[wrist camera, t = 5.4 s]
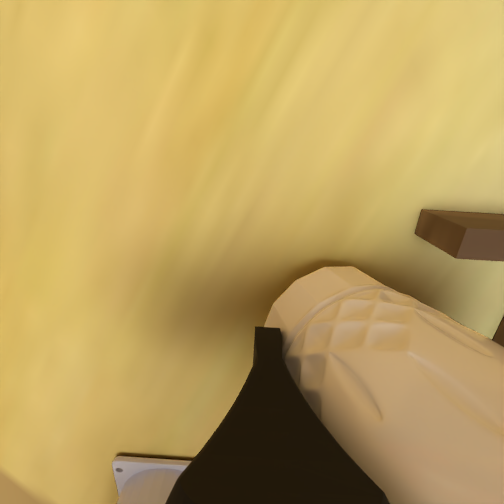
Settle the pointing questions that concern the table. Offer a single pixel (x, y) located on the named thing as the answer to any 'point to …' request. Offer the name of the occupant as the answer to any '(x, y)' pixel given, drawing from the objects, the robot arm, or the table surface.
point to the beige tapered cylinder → (397, 386)
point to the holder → (465, 238)
